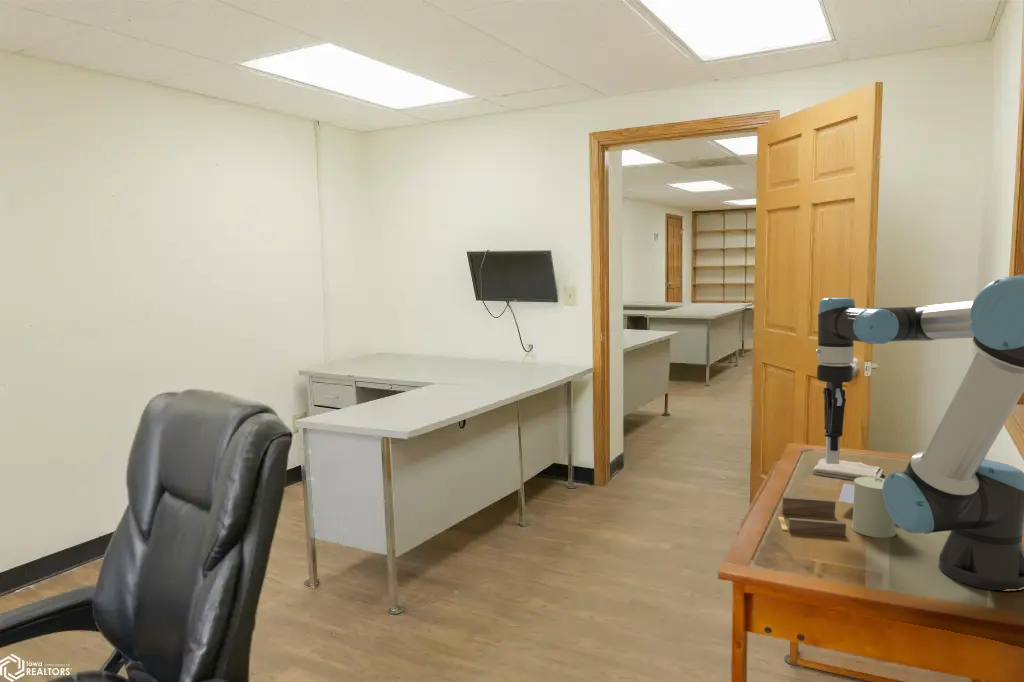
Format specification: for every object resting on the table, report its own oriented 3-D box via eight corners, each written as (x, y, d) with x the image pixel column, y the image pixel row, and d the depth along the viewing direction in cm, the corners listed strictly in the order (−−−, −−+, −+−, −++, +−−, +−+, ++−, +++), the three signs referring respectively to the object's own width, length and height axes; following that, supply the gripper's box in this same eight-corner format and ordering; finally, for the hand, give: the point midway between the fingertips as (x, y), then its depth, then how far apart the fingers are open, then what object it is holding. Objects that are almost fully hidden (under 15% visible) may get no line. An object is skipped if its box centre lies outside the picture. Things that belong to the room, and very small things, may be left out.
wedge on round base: (837, 513, 171) (896, 526, 163) (838, 487, 170) (897, 498, 162) (847, 503, 178) (904, 515, 170) (848, 478, 177) (905, 488, 169)
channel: (845, 536, 157) (846, 519, 156) (782, 531, 160) (783, 514, 160) (833, 515, 169) (834, 500, 169) (775, 511, 173) (776, 495, 172)
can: (898, 528, 161) (901, 478, 160) (893, 541, 154) (895, 489, 152) (855, 520, 167) (857, 472, 165) (848, 532, 159) (850, 482, 158)
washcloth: (879, 486, 192) (879, 475, 192) (811, 476, 202) (811, 465, 202) (883, 475, 202) (884, 465, 202) (818, 465, 212) (818, 456, 212)
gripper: (812, 360, 166) (810, 455, 169) (822, 367, 154) (820, 469, 156) (846, 360, 165) (843, 456, 167) (859, 367, 152) (856, 471, 154)
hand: (832, 463), depth 161 cm, fingers closed
